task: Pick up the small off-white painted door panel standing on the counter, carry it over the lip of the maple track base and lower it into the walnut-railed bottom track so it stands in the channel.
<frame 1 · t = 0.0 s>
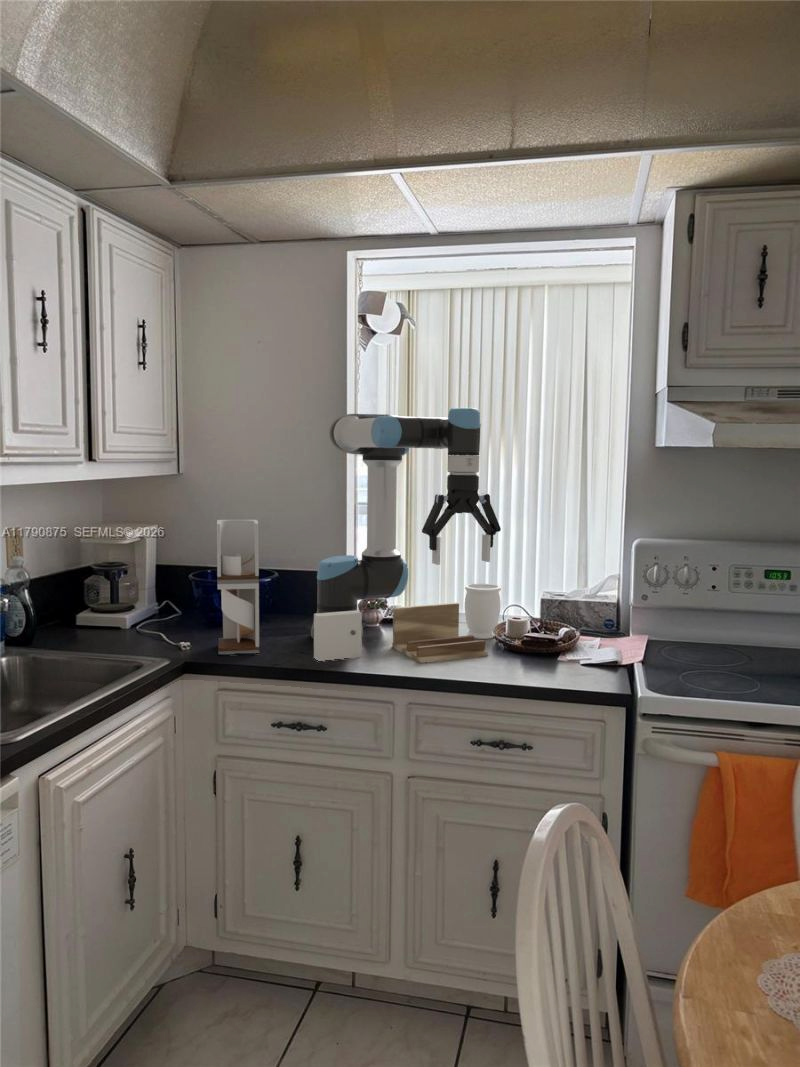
hand: (461, 562, 191), 28 cm above the worktop, tool pointing down, fingers open, 13 cm apart
track base: (439, 651, 218), on the worktop
door panel: (337, 658, 210), on the worktop
spiral ramp tower: (238, 650, 217), on the worktop
jar: (481, 636, 236), on the worktop
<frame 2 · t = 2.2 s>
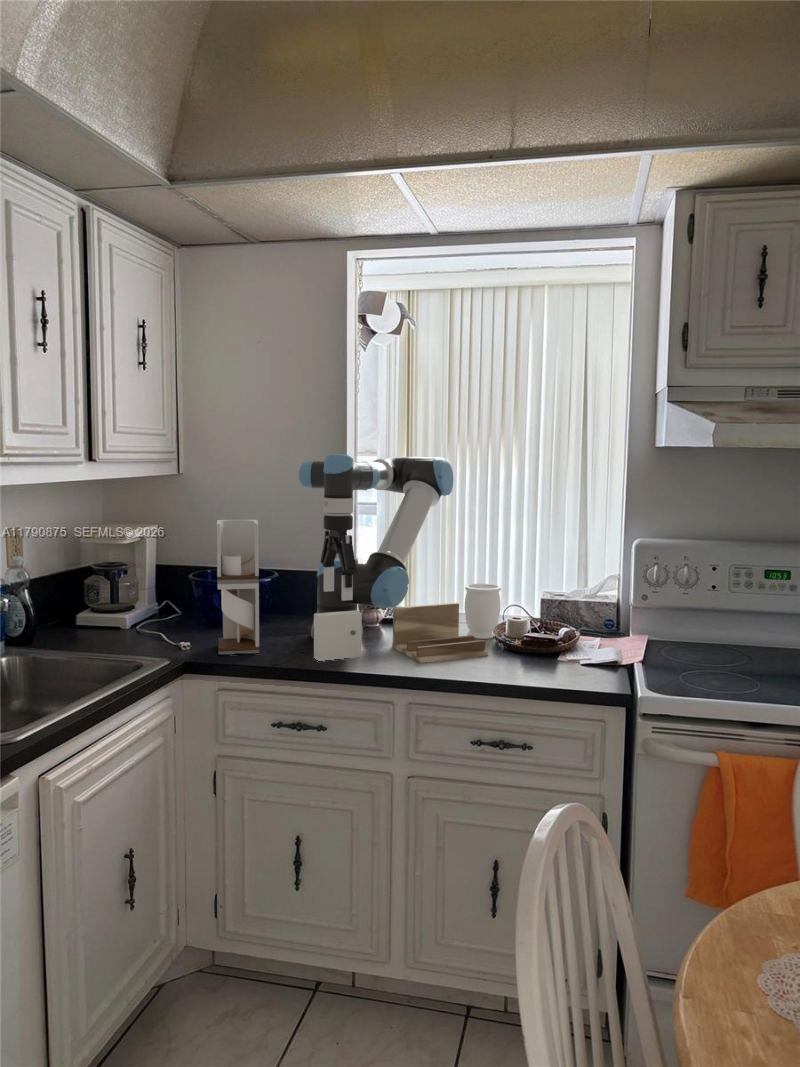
hand: (337, 595, 208), 17 cm above the worktop, tool pointing down, fingers open, 13 cm apart
nothing on the worktop moved.
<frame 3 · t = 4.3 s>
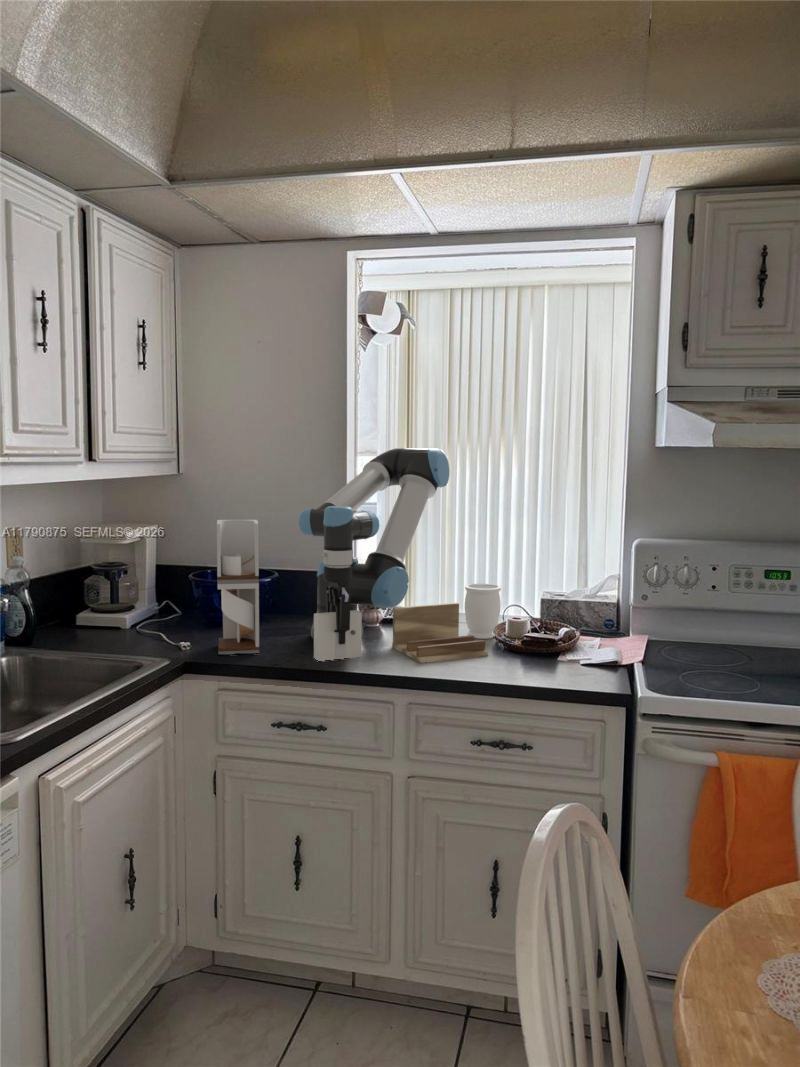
hand: (337, 653, 210), 1 cm above the worktop, tool pointing down, fingers closed on door panel, 3 cm apart
door panel: (337, 657, 210), on the worktop, touching gripper
everything else where it was.
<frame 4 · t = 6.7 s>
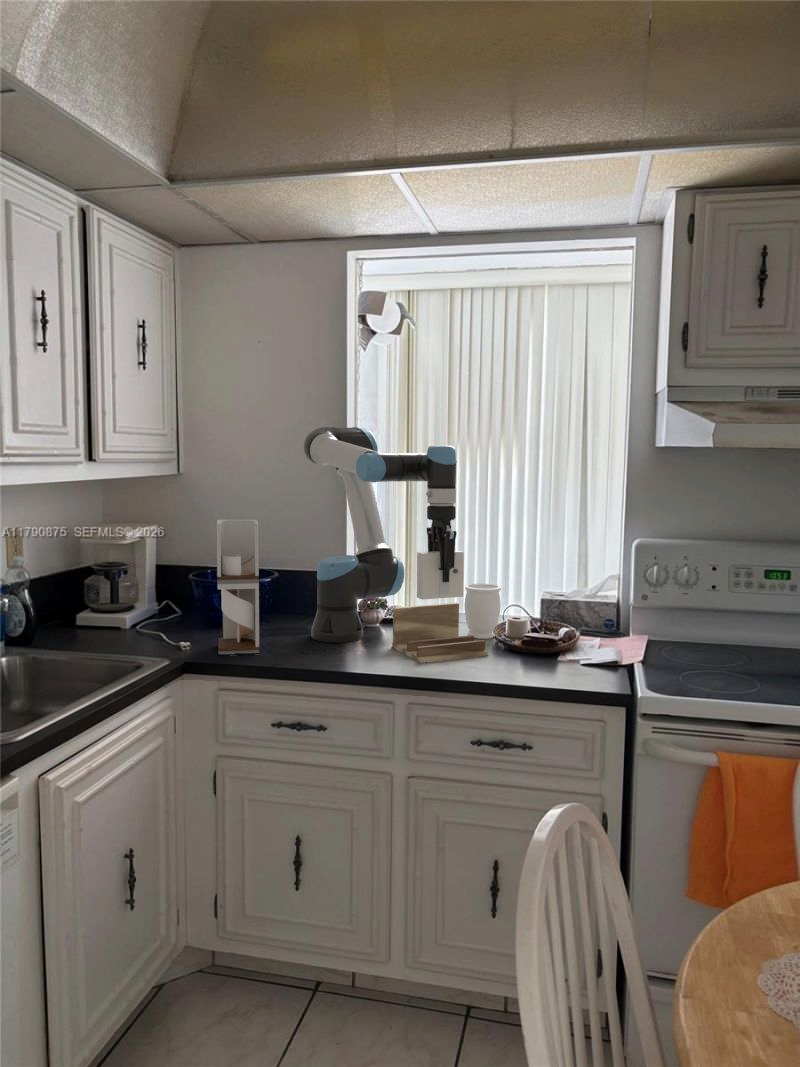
hand: (440, 592, 211), 17 cm above the worktop, tool pointing down, fingers closed on door panel, 3 cm apart
door panel: (440, 597, 212), point 16 cm above the worktop, touching gripper
everything else where it was.
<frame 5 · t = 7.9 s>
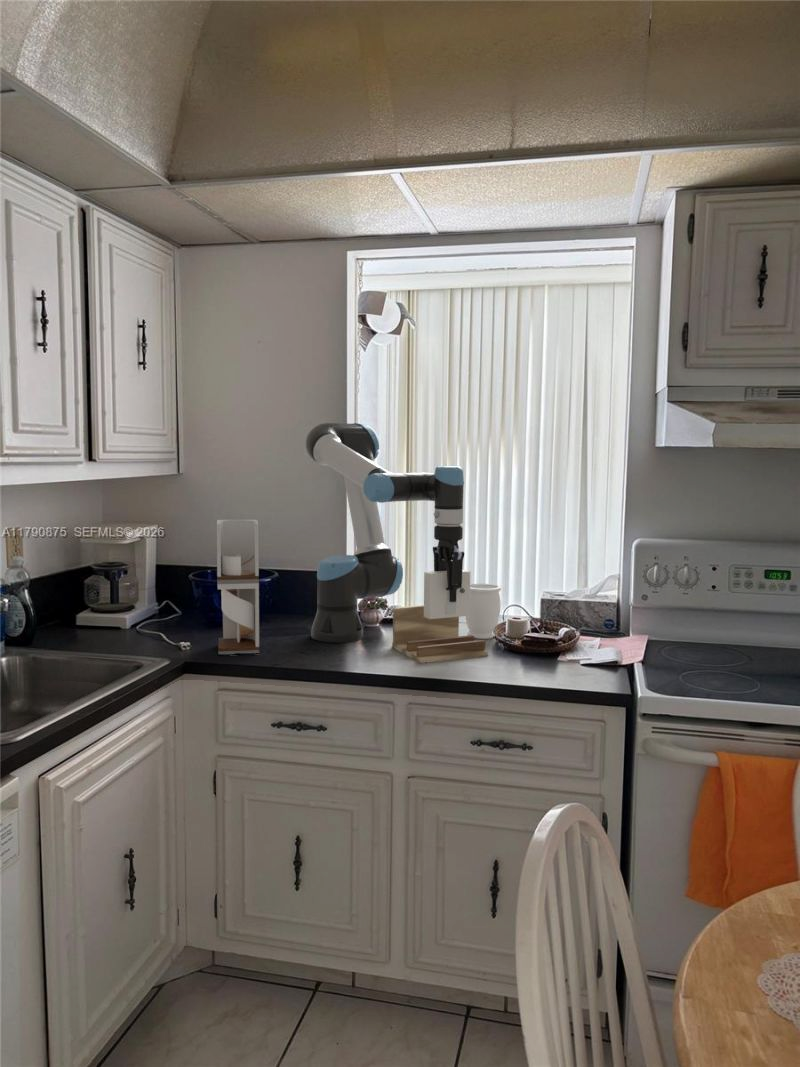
hand: (447, 611, 213), 12 cm above the worktop, tool pointing down, fingers closed on door panel, 3 cm apart
door panel: (446, 616, 213), point 11 cm above the worktop, touching gripper
everything else where it was.
when the fingers open (6 cm above the worktop, at t = 9.1 s): door panel drops 3 cm, resting on track base.
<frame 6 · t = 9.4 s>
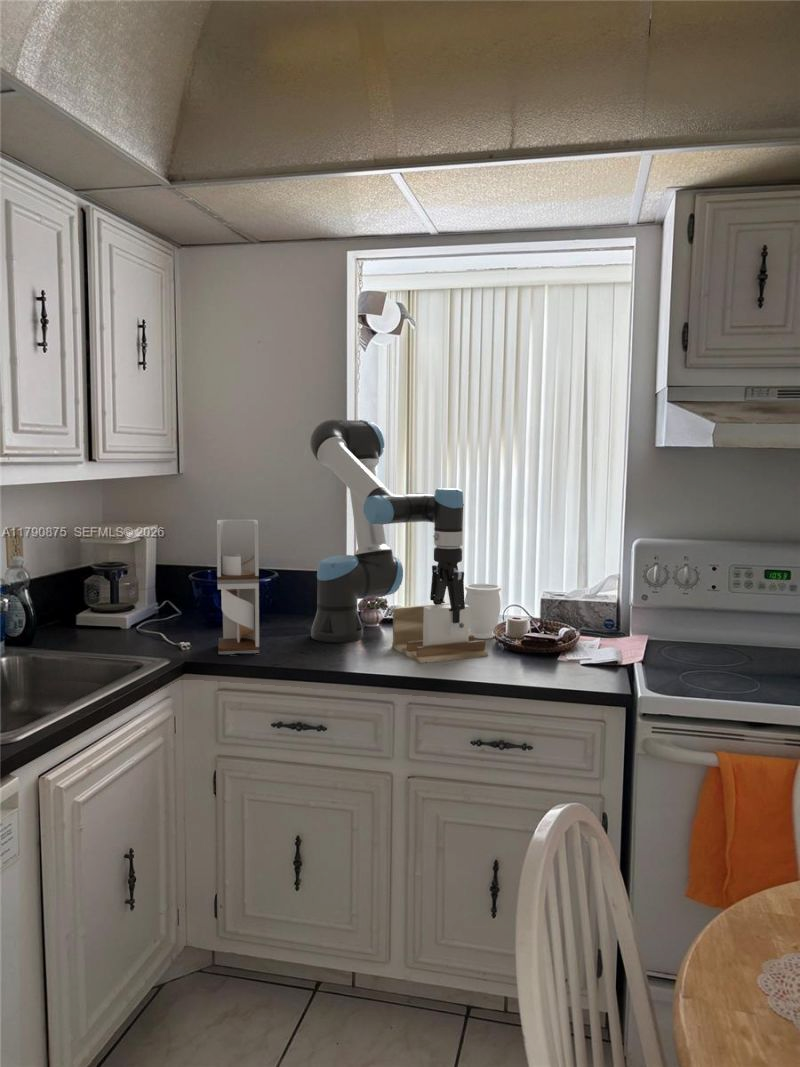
hand: (446, 631, 214), 6 cm above the worktop, tool pointing down, fingers open, 8 cm apart
door panel: (445, 650, 214), point 1 cm above the worktop, touching track base
everything else where it was.
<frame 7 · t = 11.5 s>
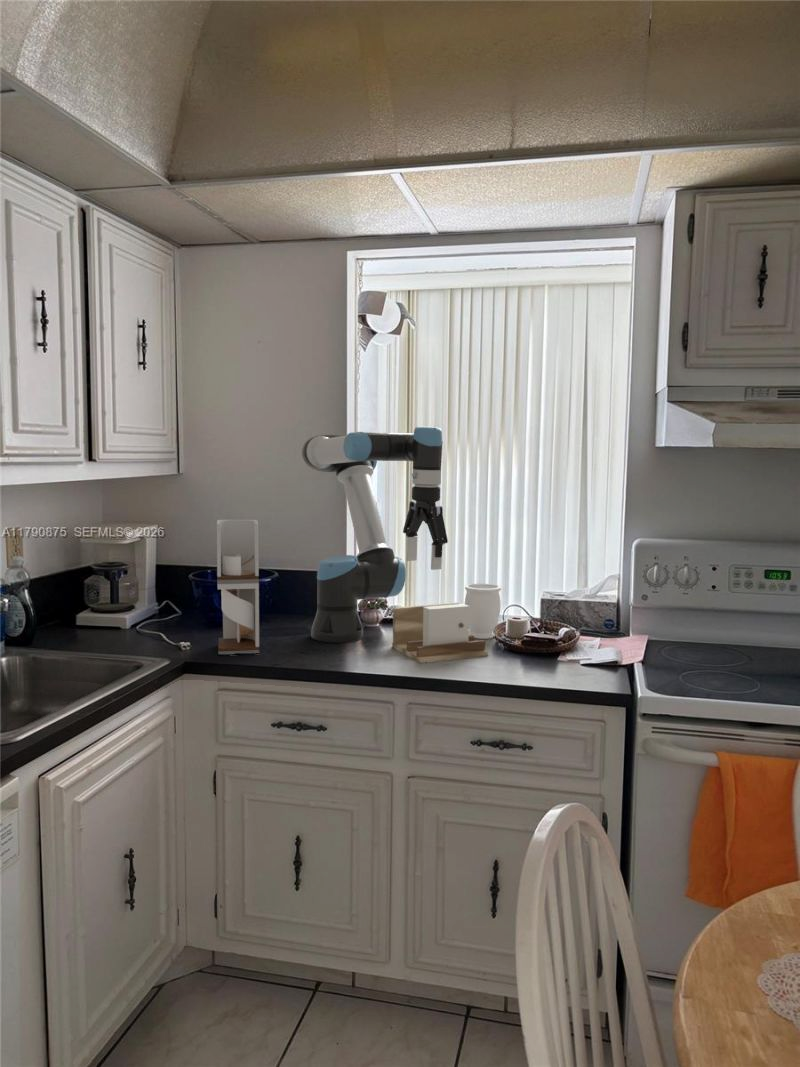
hand: (423, 564, 214), 24 cm above the worktop, tool pointing down, fingers open, 13 cm apart
nothing on the worktop moved.
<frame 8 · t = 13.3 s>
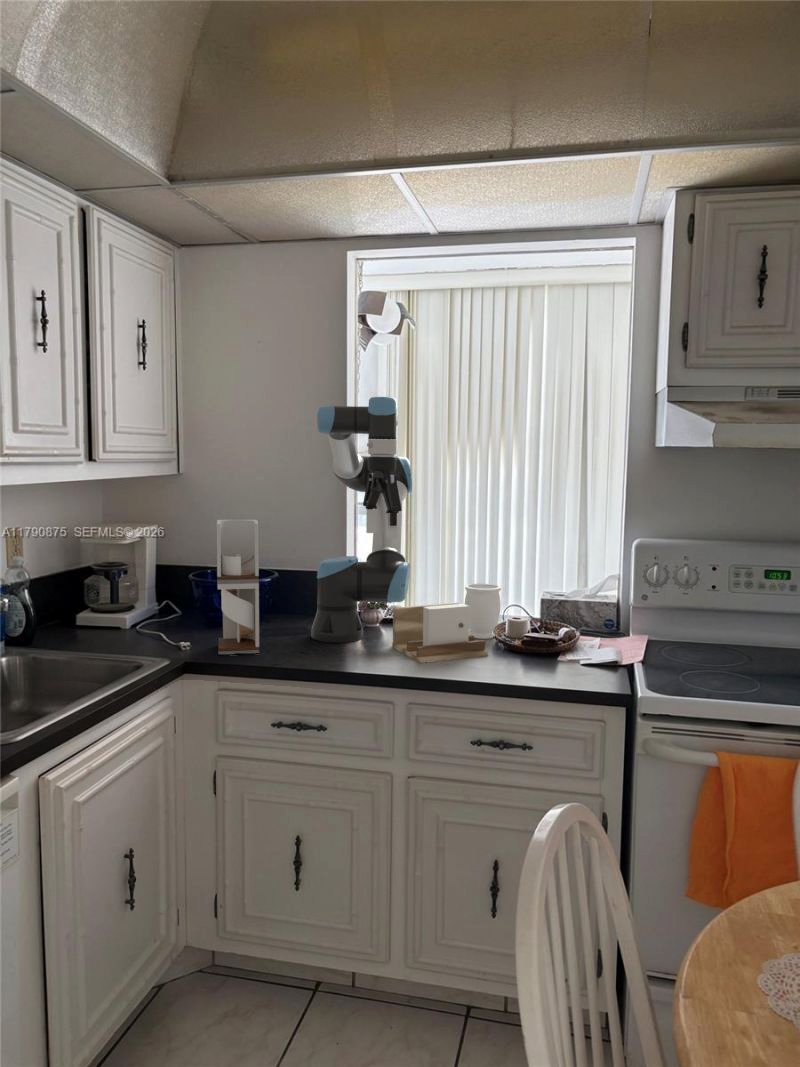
hand: (381, 535, 214), 32 cm above the worktop, tool pointing down, fingers open, 13 cm apart
nothing on the worktop moved.
at the end: door panel inside the target area on the track base (0.1 cm from its centre), point 1.2 cm above the track base's base; door panel tilted 0°; the gripper is holding nothing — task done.
